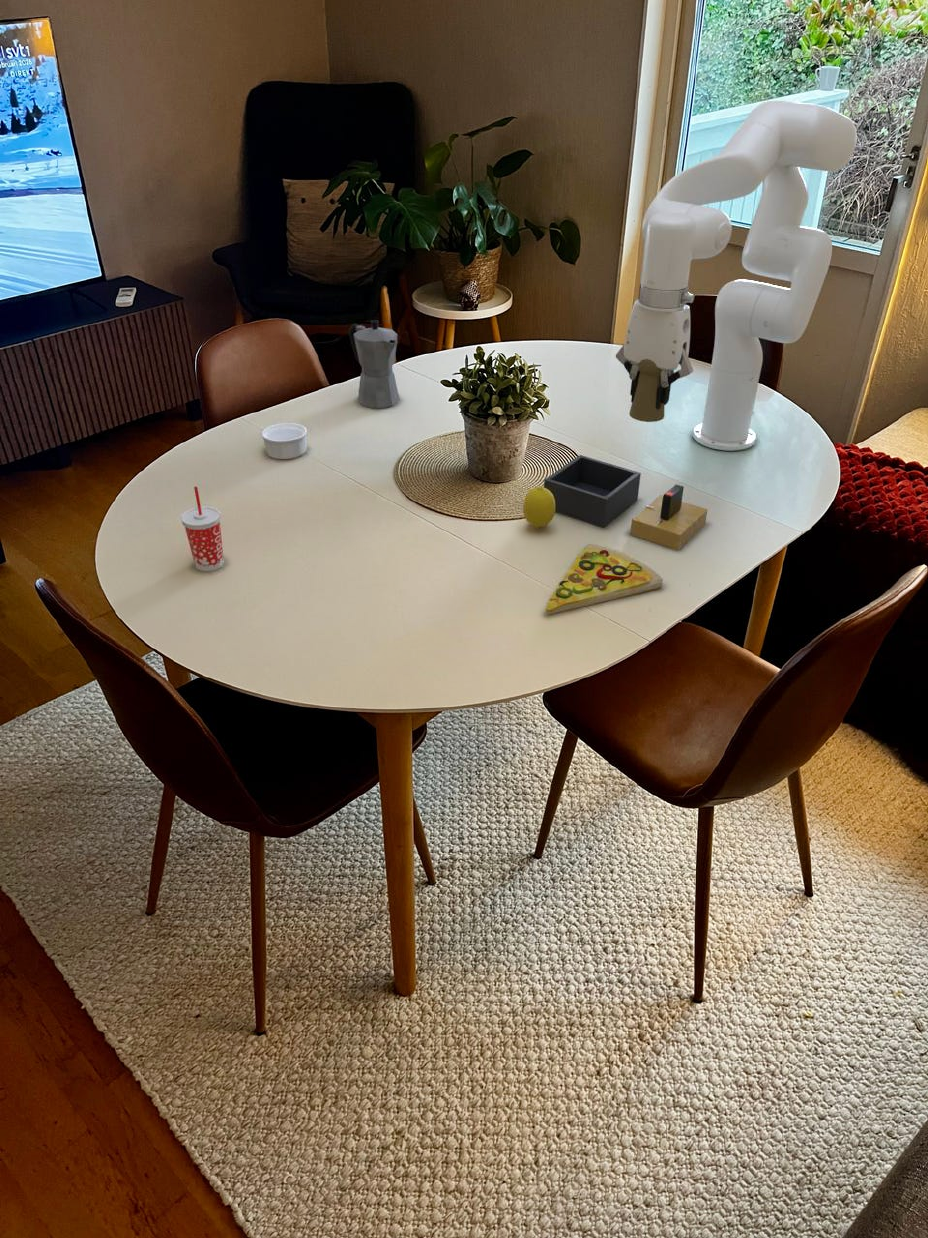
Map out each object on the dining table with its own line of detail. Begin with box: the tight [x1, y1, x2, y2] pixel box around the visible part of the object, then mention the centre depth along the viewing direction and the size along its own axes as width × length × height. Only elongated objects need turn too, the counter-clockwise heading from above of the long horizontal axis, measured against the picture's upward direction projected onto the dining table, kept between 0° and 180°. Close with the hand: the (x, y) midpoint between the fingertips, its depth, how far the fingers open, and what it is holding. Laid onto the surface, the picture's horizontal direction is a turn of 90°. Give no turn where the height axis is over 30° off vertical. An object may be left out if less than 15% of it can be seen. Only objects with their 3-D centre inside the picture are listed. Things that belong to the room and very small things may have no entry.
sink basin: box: [543, 454, 642, 529], centre depth 172 cm, size 13×13×6 cm
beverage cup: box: [180, 486, 225, 572], centre depth 152 cm, size 6×6×14 cm
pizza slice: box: [545, 542, 663, 616], centre depth 149 cm, size 16×21×3 cm
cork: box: [628, 359, 665, 423], centre depth 163 cm, size 6×6×11 cm
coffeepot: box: [348, 319, 401, 410], centre depth 207 cm, size 15×9×18 cm, turn 44°
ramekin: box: [261, 422, 308, 460], centre depth 189 cm, size 9×9×4 cm
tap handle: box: [660, 483, 685, 521], centre depth 163 cm, size 5×2×5 cm, turn 144°
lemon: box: [522, 485, 556, 529], centre depth 164 cm, size 6×6×8 cm
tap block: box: [629, 494, 709, 551], centre depth 165 cm, size 11×9×3 cm
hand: (648, 402), depth 164 cm, fingers closed on cork, 3 cm apart
